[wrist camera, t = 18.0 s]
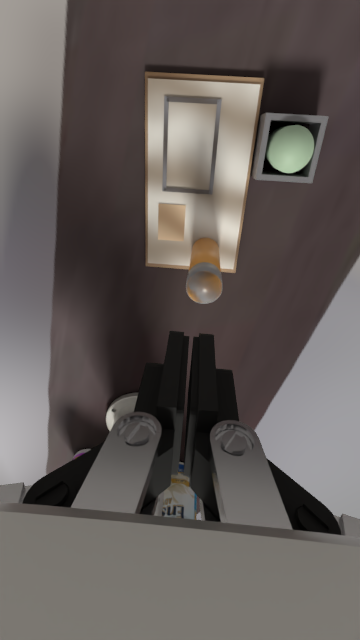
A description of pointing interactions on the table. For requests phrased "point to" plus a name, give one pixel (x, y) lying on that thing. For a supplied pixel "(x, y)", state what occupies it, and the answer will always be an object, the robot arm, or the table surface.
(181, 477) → the beverage bottle
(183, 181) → the sheet
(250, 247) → the table surface
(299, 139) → the button
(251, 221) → the table surface
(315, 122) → the button housing
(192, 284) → the marker
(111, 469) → the robot arm
